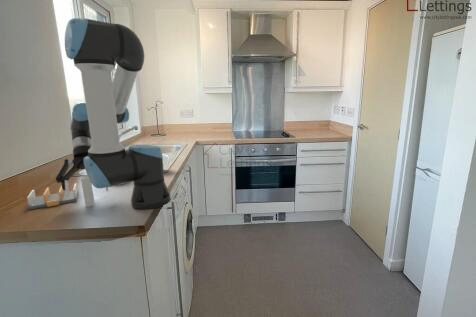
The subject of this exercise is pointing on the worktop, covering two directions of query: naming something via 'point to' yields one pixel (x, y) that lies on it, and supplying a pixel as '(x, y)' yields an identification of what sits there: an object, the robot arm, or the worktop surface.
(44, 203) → the rack
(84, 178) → the panel
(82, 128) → the robot arm
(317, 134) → the worktop surface
